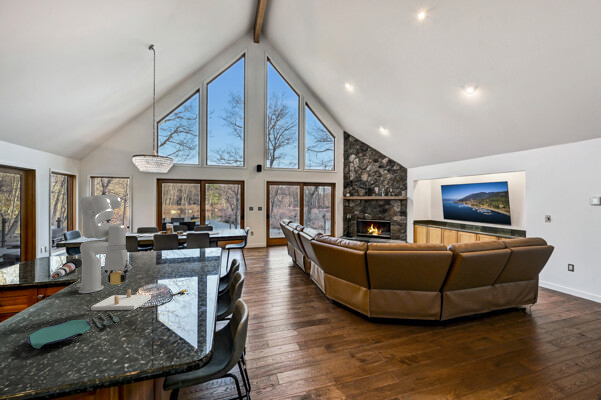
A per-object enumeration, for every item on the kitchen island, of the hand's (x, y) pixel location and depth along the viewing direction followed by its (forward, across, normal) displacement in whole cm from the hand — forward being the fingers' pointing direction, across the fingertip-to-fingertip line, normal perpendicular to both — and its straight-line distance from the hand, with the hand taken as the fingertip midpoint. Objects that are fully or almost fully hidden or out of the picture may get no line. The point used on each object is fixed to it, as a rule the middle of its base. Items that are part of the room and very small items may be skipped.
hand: (117, 281), depth 136 cm
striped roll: (+4, -87, +65) cm, 109 cm away
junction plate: (+14, 0, +5) cm, 15 cm away
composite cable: (+15, +24, +20) cm, 34 cm away
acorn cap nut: (+1, 0, 0) cm, 1 cm away
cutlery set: (+15, -2, -24) cm, 28 cm away
